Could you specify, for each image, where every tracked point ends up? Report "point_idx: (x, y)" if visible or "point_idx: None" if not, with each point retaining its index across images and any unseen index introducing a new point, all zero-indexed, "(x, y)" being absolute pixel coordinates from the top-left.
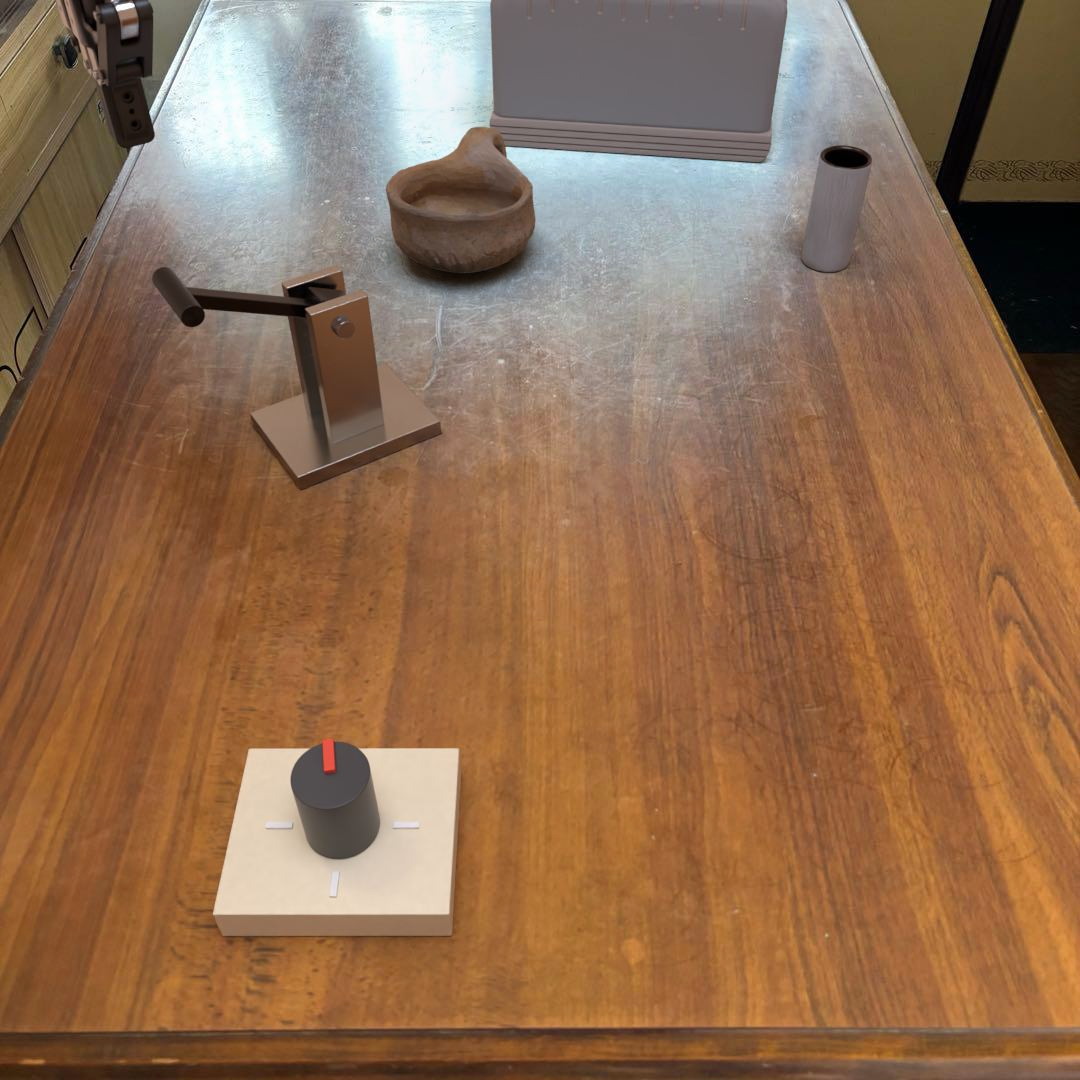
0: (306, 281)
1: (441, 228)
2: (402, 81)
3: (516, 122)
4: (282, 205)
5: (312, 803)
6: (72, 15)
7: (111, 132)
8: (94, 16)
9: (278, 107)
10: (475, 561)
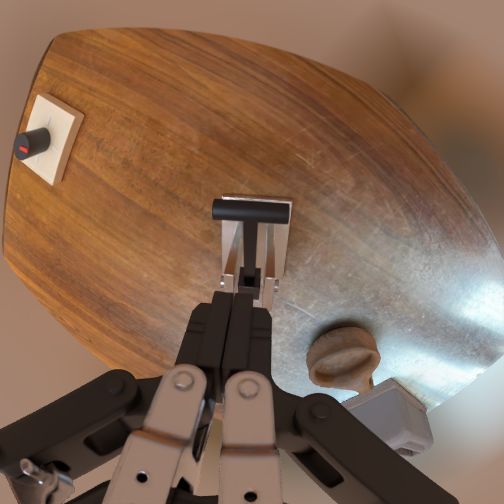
0: (264, 290)
1: (326, 351)
2: (450, 367)
3: (384, 391)
4: (438, 300)
5: (16, 138)
6: (116, 486)
7: (234, 299)
8: (26, 465)
9: (481, 327)
10: (139, 235)
